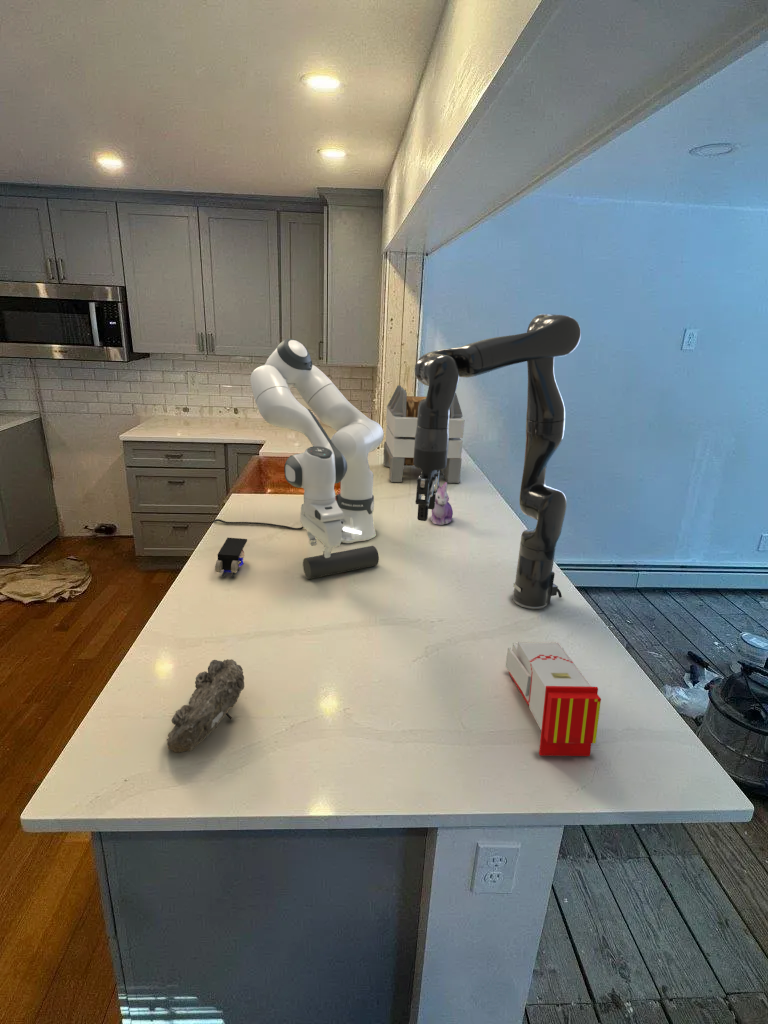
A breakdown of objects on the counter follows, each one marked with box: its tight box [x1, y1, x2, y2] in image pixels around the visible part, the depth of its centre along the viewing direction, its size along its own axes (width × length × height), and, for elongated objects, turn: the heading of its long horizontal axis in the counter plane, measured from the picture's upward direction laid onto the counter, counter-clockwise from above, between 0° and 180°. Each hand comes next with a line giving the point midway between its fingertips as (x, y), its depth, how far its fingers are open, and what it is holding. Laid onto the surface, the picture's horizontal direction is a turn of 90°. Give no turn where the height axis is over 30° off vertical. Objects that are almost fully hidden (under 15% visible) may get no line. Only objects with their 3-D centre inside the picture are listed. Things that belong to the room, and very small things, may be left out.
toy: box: [505, 641, 602, 757], centre depth 113 cm, size 12×13×30 cm
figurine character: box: [214, 537, 248, 578], centre depth 166 cm, size 7×8×15 cm
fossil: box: [166, 658, 245, 754], centre depth 106 cm, size 22×10×15 cm
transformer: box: [383, 384, 465, 484], centre depth 268 cm, size 34×33×41 cm
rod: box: [302, 545, 380, 580], centre depth 169 cm, size 22×6×6 cm, turn 120°
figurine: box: [430, 481, 454, 526], centre depth 211 cm, size 9×10×15 cm
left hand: (319, 550), depth 163 cm, fingers open, 8 cm apart
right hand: (426, 514), depth 132 cm, fingers open, 8 cm apart
